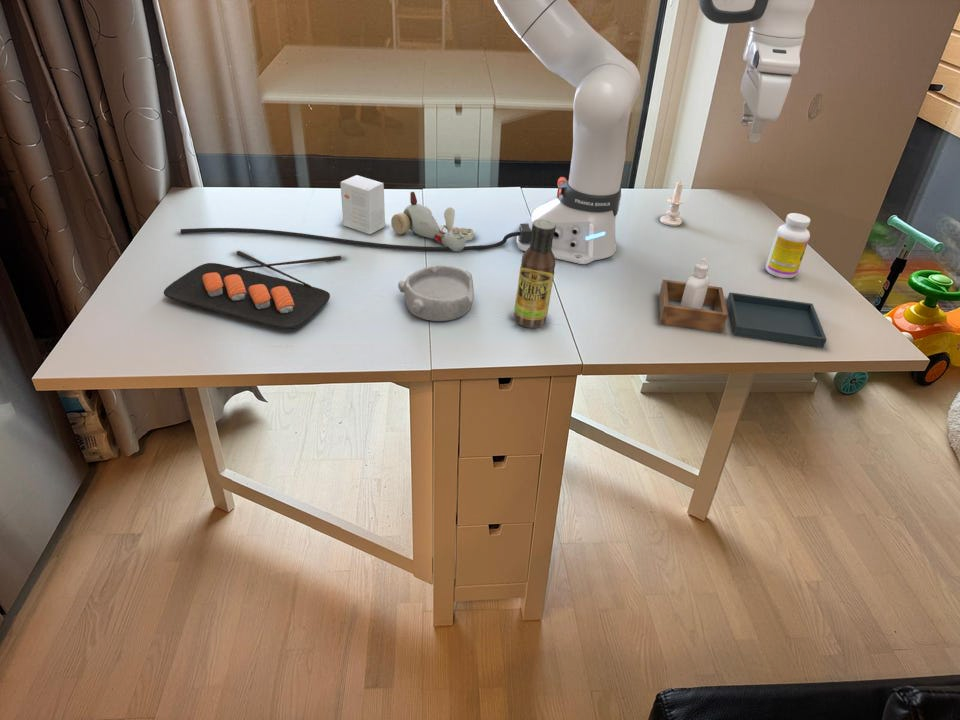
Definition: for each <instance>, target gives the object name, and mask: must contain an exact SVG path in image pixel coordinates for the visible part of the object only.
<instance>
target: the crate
mask: <svg viewBox="0 0 960 720" xmlns="http://www.w3.org/2000/svg"><path fill="white" fill-rule="evenodd" d="M685 286H686V282H685V281H678V280H670V279H662V281H661V286H660V290H659V295H658V307H659V308H658V309H659V311H658V312H659V324H660V325H666V326H672V327H679V328H684V329H685V328H687V329H693V330H699V331H706V332H707V331H708V332H714V333H720V334H723V331H724V329H725V325H726V321H727V320H728V314H729V313H728V310H727V303H726V299H725V295H724V290H723V287H721V286H720V287H719V286H714V285H708V289H707V292H706V296H705V300H704V303H703V306H708V307H709V306H710V307H713V310H710V309H703V308H702V309H697V308H689V307H682V306H680V305H675V304H669V301H675V302H679V303H681V301H682V297H683V293H684V289H685Z"/></svg>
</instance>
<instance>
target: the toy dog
mask: <svg viewBox="0 0 960 720" xmlns="http://www.w3.org/2000/svg"><path fill="white" fill-rule="evenodd" d="M409 195H410V196H409V197H410V199H409V200H410V204H409V205H407V207H405V208H404V210H403V212H398V213H395V214H393V216H391V220H390V223H391V228H392V230H393V231H394V232H395V233H396V234H398V235H404V234H407V233H408V232H409V231H411V232H413V233H415V234H416V235H419V236H421V237H423V238H428V239H431V240H436V242H437V243H439V244H442V245H443V246H444V247H449V248H450V249H451V250H453V251H452V252H461V251H460V250H462V249H463V248H464V247H465V246H466V245H467V244H466V243H467V241H472V240H473V239H474V235H475V234H474V229H473V228H469V227H457V226H454V224H455V223H454V222H455V209H454V208H453V207H447V208H446V209H445V210H444V212H443V216H444V222H445V224H441V228H440V226H439V224H438V222H437V220H436V219H435V217H434V215H433V213H432V211H431V209H430V208H429V207H427V206H425V205H422V204H421V203H418V199H417V195H416V193H415V191H410V193H409ZM444 229H446V231H447V232H445V231H444Z"/></svg>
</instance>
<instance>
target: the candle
mask: <svg viewBox="0 0 960 720" xmlns="http://www.w3.org/2000/svg"><path fill="white" fill-rule="evenodd" d="M682 190H683V183H682V182H681V181H677V182H676V183H675V187H674V192H673V196H672V197H669V198H667V202H668V203H669V204H670V205H669V207H668V208H669V209H667V210H666V212H665V215H661V216H660V219H659V220H660V222H661V223H662V224H664V225H666V226H669V227H679V226H680V225H682V223H683V220H682V218H680V217H679V216H680V211H679V209H680V206H681V205H683V204H684V200H683V199H681V197H682V196H681V195H682Z"/></svg>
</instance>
